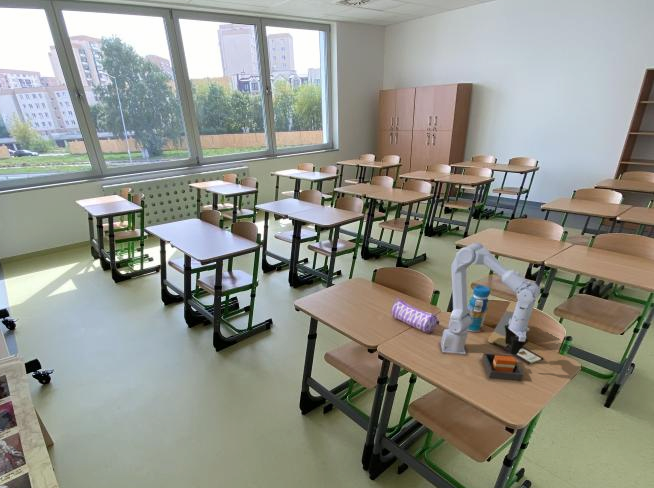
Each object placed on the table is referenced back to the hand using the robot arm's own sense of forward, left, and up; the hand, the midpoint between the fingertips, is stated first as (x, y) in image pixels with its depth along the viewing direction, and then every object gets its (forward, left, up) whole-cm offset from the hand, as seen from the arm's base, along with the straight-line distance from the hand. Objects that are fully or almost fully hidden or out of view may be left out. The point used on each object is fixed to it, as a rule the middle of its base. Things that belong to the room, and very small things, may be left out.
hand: (510, 348), depth 151 cm
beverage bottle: (-7, +33, -10) cm, 35 cm away
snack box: (-2, -2, -9) cm, 9 cm away
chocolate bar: (+8, +14, -9) cm, 19 cm away
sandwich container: (+5, +24, -9) cm, 27 cm away
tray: (-2, -2, -9) cm, 10 cm away
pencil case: (-34, +32, -10) cm, 48 cm away
